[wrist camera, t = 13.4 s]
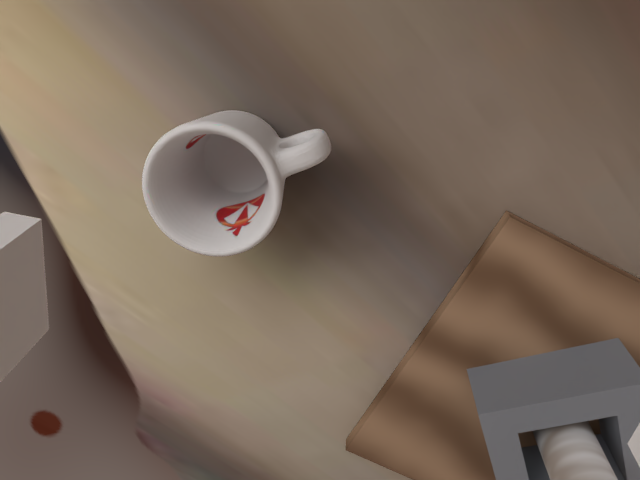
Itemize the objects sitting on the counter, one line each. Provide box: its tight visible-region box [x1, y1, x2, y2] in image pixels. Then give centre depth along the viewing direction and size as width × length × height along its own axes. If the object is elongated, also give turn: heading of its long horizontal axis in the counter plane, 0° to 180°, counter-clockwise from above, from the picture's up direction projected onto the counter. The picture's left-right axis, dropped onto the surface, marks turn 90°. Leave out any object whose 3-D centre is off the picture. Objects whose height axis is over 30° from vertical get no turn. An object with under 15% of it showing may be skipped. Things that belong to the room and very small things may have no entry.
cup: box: [142, 110, 331, 256], centre depth 34 cm, size 11×8×8 cm
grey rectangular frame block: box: [467, 338, 640, 480], centre depth 42 cm, size 17×11×5 cm, turn 18°
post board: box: [346, 211, 640, 480], centre depth 40 cm, size 24×24×9 cm
